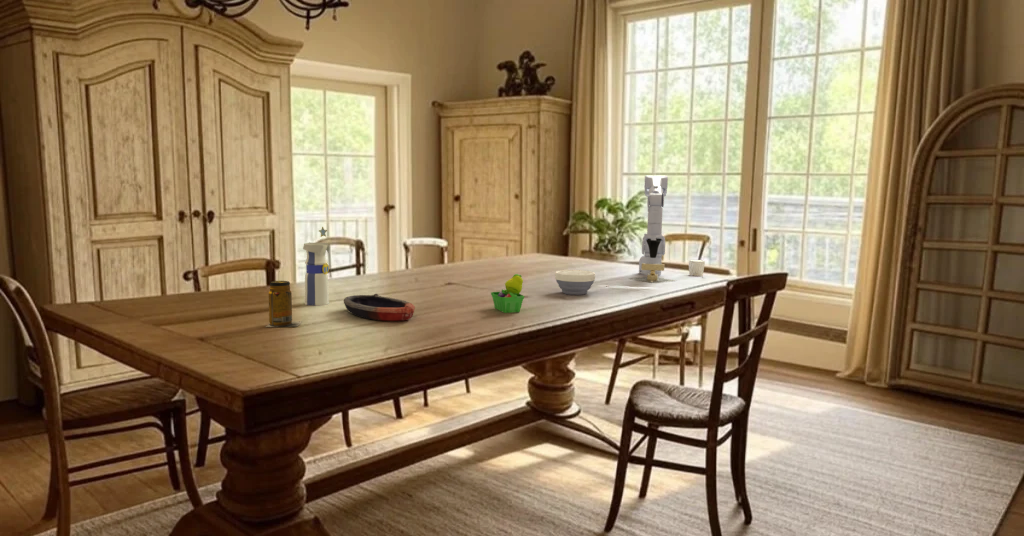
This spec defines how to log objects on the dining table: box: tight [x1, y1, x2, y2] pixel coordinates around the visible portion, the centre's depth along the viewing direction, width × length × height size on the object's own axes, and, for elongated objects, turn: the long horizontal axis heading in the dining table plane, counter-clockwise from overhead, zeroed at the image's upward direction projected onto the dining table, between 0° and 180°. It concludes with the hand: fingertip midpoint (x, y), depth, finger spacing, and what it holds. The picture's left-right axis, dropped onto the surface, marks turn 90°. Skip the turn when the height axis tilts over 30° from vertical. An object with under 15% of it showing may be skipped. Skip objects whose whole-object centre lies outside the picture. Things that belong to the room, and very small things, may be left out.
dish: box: [343, 293, 416, 322], centre depth 212 cm, size 16×31×5 cm, turn 42°
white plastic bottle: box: [302, 226, 330, 307], centre depth 229 cm, size 8×9×25 cm
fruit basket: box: [490, 273, 525, 314], centre depth 224 cm, size 11×9×11 cm
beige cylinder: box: [688, 259, 706, 277], centre depth 311 cm, size 7×7×7 cm
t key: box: [641, 263, 665, 281], centre depth 291 cm, size 9×4×6 cm, turn 77°
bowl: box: [554, 269, 596, 296], centre depth 259 cm, size 14×14×8 cm
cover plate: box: [628, 276, 677, 284], centre depth 291 cm, size 14×14×1 cm
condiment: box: [265, 280, 302, 328], centre depth 196 cm, size 7×8×12 cm
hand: (653, 256), depth 290 cm, fingers open, 7 cm apart
